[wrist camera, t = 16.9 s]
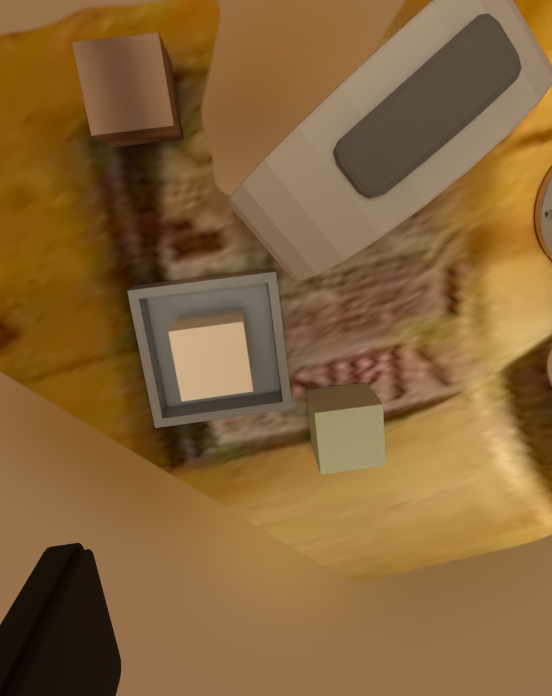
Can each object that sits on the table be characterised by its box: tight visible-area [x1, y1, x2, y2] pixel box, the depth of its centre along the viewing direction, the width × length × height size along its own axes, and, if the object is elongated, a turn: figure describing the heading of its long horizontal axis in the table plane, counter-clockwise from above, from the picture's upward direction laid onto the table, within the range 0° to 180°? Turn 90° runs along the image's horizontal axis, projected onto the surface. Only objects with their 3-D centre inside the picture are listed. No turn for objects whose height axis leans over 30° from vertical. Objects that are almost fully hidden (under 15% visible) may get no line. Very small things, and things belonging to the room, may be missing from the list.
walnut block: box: [72, 33, 183, 147], centre depth 37 cm, size 6×6×6 cm
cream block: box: [168, 308, 253, 402], centre depth 42 cm, size 6×6×6 cm
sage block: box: [306, 382, 386, 474], centre depth 45 cm, size 6×6×6 cm
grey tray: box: [127, 268, 293, 428], centre depth 44 cm, size 13×13×4 cm
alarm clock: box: [228, 0, 552, 281], centre depth 32 cm, size 21×8×20 cm, turn 131°
